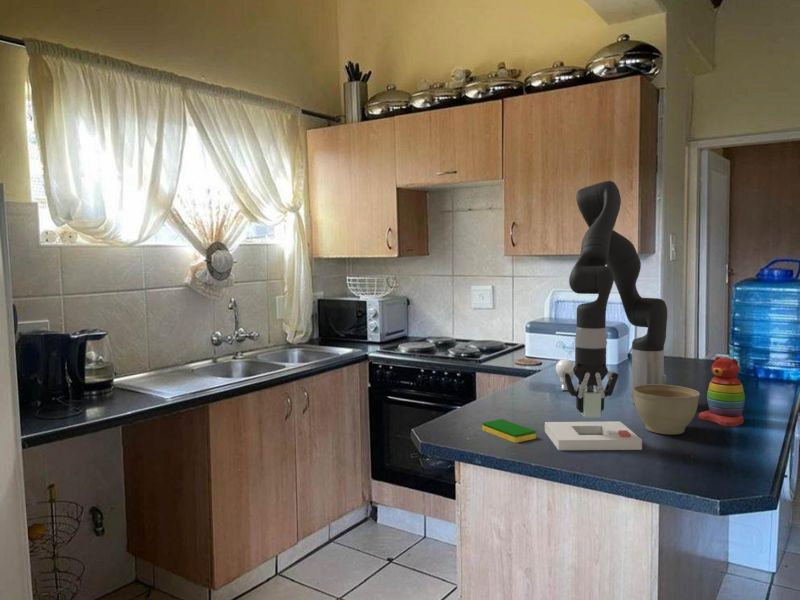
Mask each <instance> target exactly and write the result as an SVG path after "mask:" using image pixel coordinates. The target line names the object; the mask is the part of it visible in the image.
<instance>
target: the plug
mask: <svg viewBox="0 0 800 600" xmlns="http://www.w3.org/2000/svg"><path fill="white" fill-rule="evenodd" d="M594 388H595V385H587V386H586V389H585V391H584V394H583V413H580V414H581V416H583V418H601V417H602V412H601V393H600V392H598V391H596V388H595V389H594Z"/></svg>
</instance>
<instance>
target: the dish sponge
mask: <svg viewBox="0 0 800 600" xmlns="http://www.w3.org/2000/svg"><path fill="white" fill-rule="evenodd" d="M482 431H483V432H487V433H489V434H491V435H495V436H497V437H499V438H502V439H504V440H508V441H510V442H512V443H517V444H518V443H521V442H526V441H529V440H530V441H531V440H535V439H537V437H536V435H537V433H536V432H537V431H536V430H534V429H531V428H528V427H526V426H522V425H519V424H517V423H514V422H511V421H508V420H505V419H502V418H500V419H496V420H492V421H491V420H490V421H484V422H482Z"/></svg>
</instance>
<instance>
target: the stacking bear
mask: <svg viewBox="0 0 800 600" xmlns="http://www.w3.org/2000/svg"><path fill="white" fill-rule="evenodd" d="M710 370H711V373H712V375H713V376H714V377H712V378H711V380H710V382H709V384H708V389H707V393H706V401H707V404H708V409H709V410H705V411H701V412H699V413H698V419H699V420H701V421H707V422H712V423H716V424H718V425H720V426H723V427H728V428H729V427H731V428H732V427H737V426H740V425H742V424H744V417H743V411H744V406H745V403H746V402H745V401H746V400H745V399H746V395H745V392H744V386H743V384H742V382H741V381H740V379H738V375H739V372H740V366H739V361H738V359H736V358H729V357H720V356H716V358H715V359H714V362H713V363H712V365H711V369H710Z"/></svg>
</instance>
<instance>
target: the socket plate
mask: <svg viewBox="0 0 800 600" xmlns="http://www.w3.org/2000/svg"><path fill="white" fill-rule="evenodd" d="M544 433H545V434H546V435H547V436H548V438H549V439H550V440H551V442H552V443H553V445H554V446H555V447H556V449H557V451H608V450H609V451H618V450H619V451H632V450H633V451H635V450H636V451H637V450H639V451H640V450H641V451H642V450H643V439H642V438H641V437H640V436H639V435H637V434H636V433H635V432H634V431H633V430H631V429H630V428H629V427H628V426H626V425H625V424H624V423H622V421H620V420H619V421H545V422H544Z"/></svg>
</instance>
